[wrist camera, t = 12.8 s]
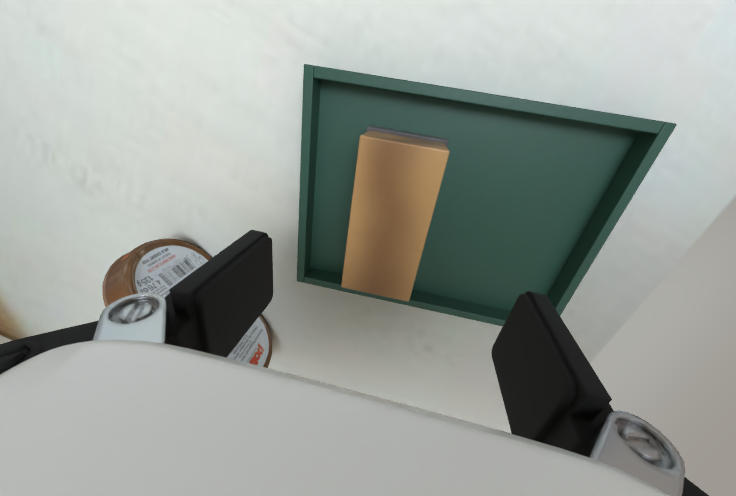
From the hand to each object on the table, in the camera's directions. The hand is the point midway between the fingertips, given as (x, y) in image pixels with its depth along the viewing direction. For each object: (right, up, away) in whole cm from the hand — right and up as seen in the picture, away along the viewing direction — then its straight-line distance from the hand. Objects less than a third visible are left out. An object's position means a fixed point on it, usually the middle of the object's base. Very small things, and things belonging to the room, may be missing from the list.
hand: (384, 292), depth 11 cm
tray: (+5, +5, +10) cm, 12 cm away
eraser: (+1, +5, +10) cm, 11 cm away
